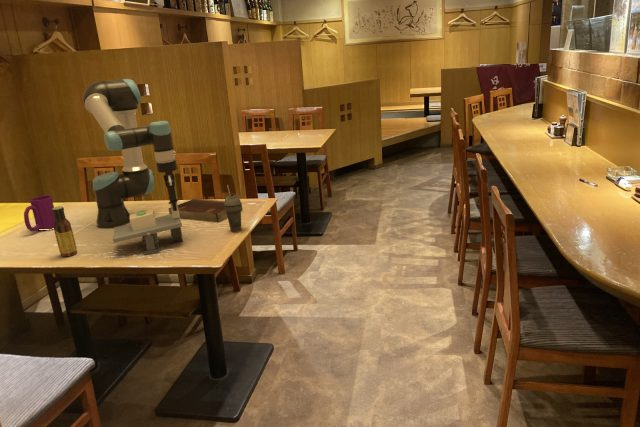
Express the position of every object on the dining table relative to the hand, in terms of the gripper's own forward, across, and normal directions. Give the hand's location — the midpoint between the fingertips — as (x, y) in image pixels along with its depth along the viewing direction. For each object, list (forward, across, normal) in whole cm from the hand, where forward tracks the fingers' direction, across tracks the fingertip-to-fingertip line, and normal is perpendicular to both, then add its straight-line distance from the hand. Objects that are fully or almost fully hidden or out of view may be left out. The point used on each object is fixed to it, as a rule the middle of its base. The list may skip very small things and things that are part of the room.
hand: (176, 217), depth 209 cm
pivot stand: (+10, 0, +7) cm, 12 cm away
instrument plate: (+3, 0, +12) cm, 12 cm away
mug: (+9, +50, +58) cm, 77 cm away
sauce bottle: (+9, +7, +43) cm, 44 cm away
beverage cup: (+10, 0, -23) cm, 25 cm away
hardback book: (+10, +32, -15) cm, 37 cm away
